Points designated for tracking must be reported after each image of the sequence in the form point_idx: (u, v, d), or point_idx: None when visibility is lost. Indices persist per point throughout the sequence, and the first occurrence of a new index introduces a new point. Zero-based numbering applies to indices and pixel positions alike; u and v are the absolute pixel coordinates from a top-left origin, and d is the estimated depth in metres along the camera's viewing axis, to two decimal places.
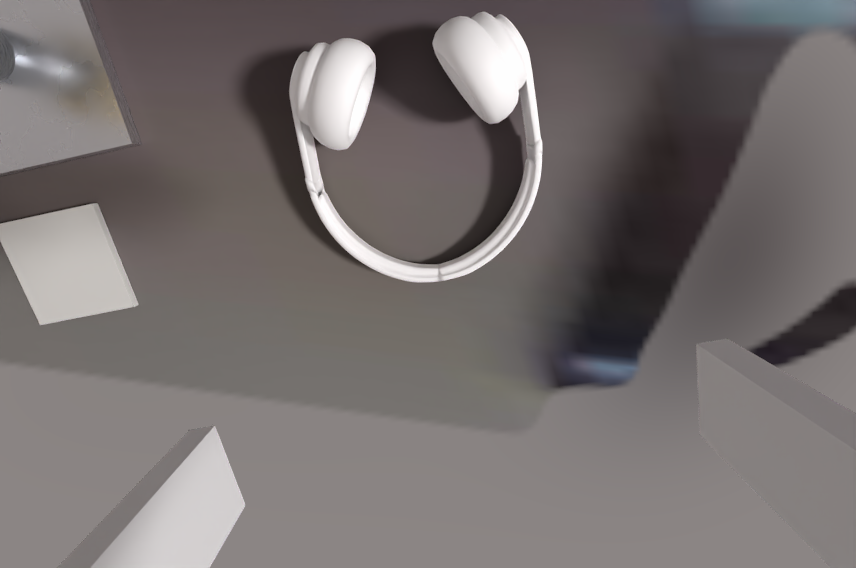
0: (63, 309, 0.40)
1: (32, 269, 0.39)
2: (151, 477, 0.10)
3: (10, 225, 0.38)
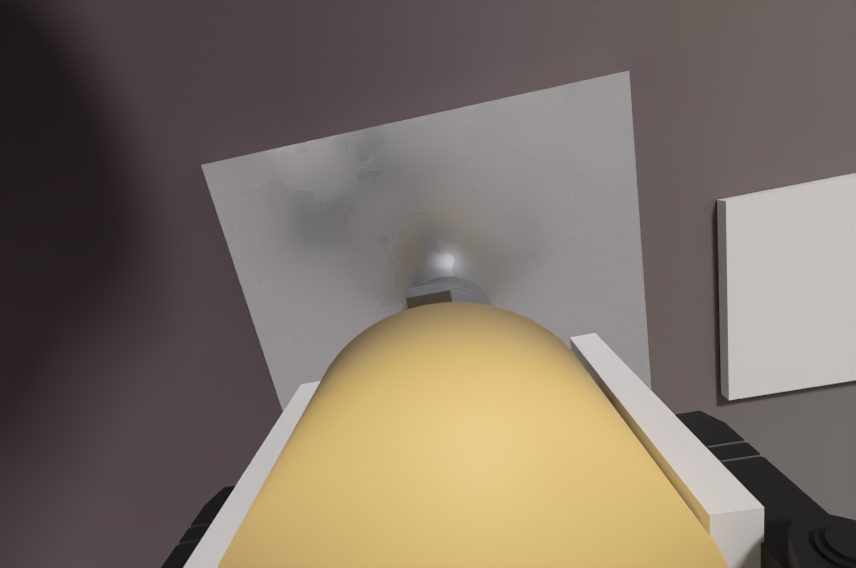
0: None
1: (828, 351, 0.20)
2: (286, 418, 0.11)
3: (735, 369, 0.20)
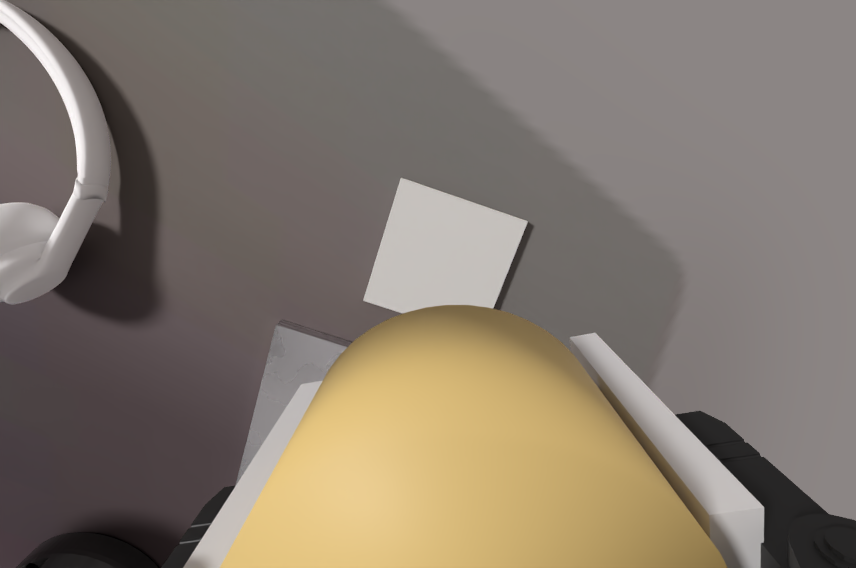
0: (485, 222, 0.31)
1: (480, 279, 0.32)
2: (286, 418, 0.11)
3: None
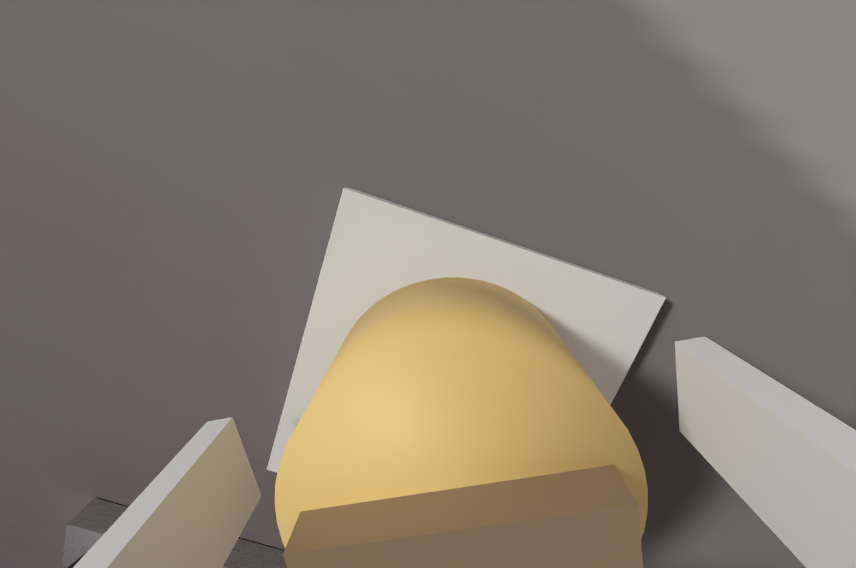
0: (559, 299, 0.12)
1: None
2: (173, 466, 0.10)
3: None
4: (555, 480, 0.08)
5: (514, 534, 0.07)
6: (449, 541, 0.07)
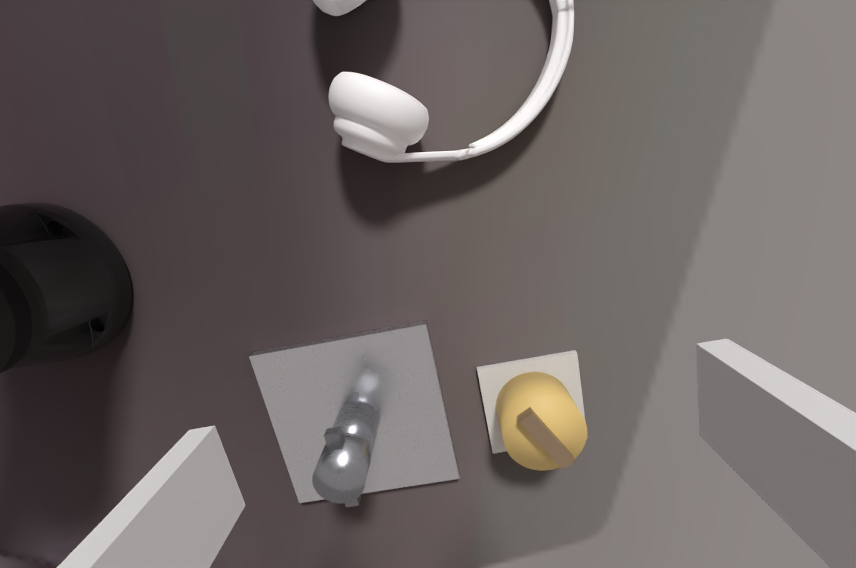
0: None
1: None
2: (151, 477, 0.10)
3: (493, 440, 0.44)
4: (565, 446, 0.38)
5: (558, 447, 0.37)
6: (550, 438, 0.37)
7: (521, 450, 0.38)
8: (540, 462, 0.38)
